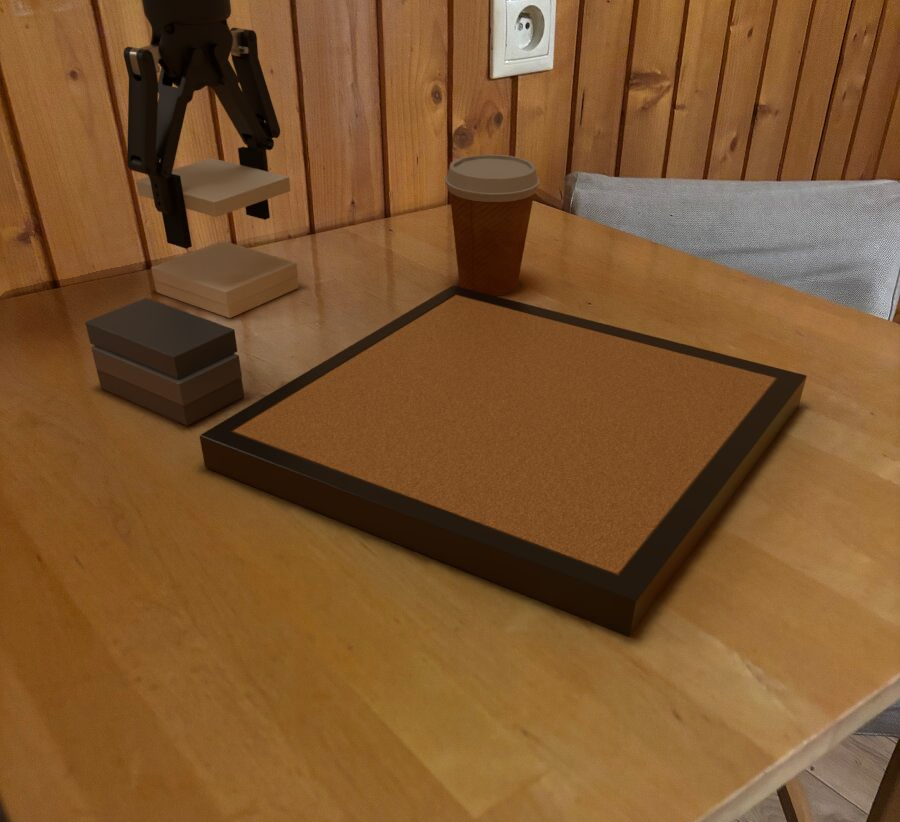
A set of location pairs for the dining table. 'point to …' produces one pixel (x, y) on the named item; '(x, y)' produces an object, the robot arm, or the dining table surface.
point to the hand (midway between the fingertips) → (220, 230)
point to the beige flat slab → (222, 186)
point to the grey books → (166, 360)
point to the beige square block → (225, 278)
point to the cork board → (518, 446)
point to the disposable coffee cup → (490, 219)
